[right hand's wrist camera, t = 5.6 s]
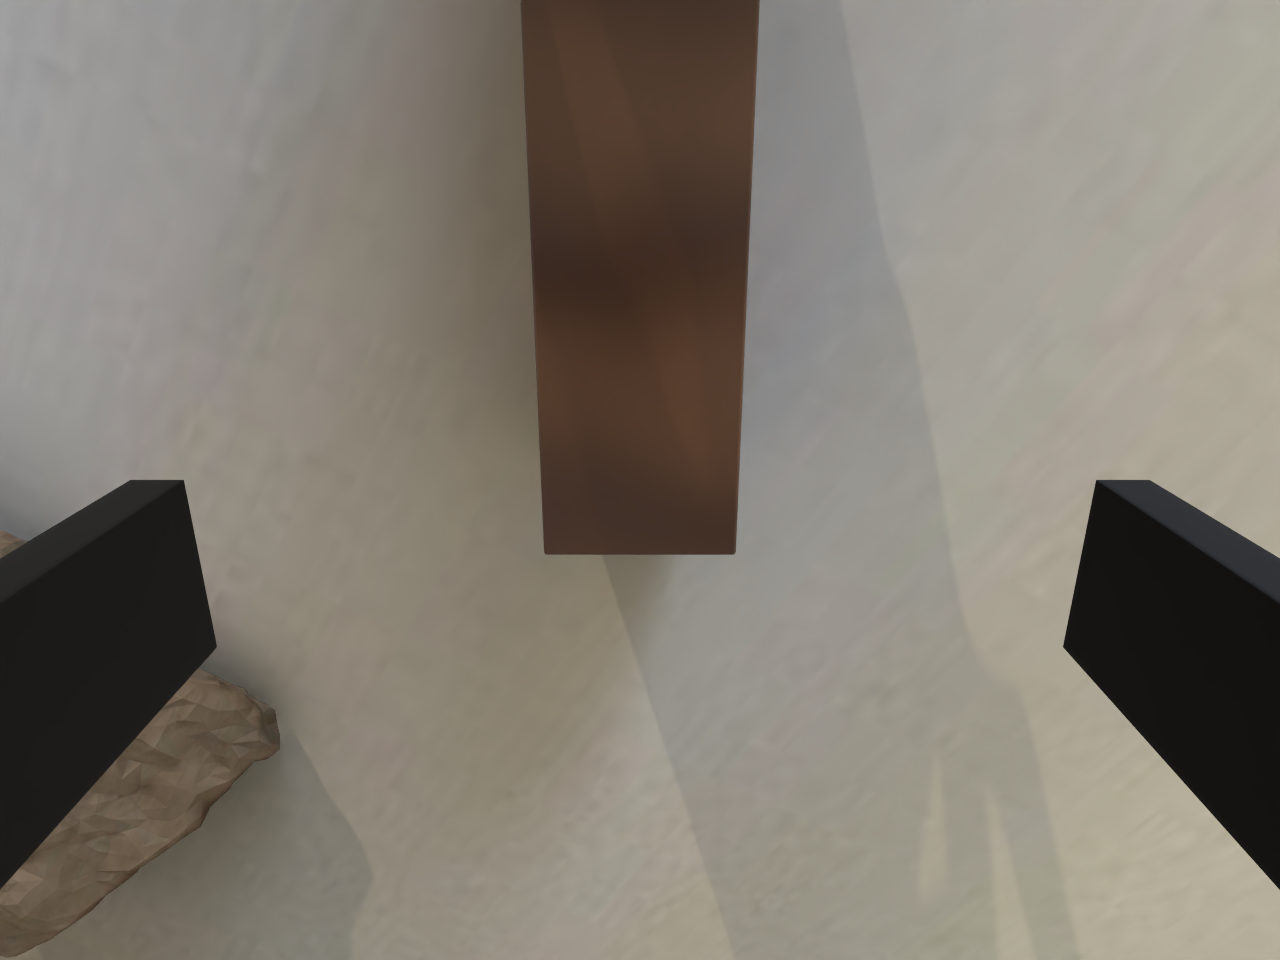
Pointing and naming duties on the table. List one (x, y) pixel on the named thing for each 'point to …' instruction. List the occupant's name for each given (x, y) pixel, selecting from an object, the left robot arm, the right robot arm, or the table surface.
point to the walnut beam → (639, 266)
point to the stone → (136, 804)
